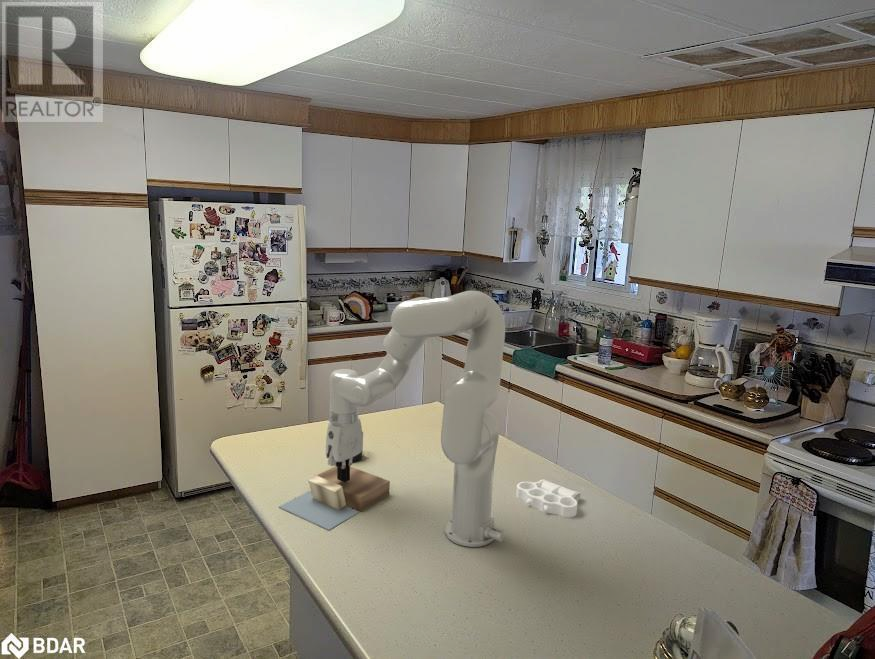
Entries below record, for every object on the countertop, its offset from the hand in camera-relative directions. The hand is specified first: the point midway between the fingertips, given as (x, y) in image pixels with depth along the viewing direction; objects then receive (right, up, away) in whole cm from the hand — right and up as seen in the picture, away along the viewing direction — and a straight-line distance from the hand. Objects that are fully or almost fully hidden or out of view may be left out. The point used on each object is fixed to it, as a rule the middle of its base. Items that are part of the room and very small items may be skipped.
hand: (343, 479), depth 161 cm
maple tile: (-4, -2, -4) cm, 6 cm away
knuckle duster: (+56, -7, +3) cm, 57 cm away
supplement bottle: (-1, 0, +25) cm, 25 cm away
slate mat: (-5, -6, -7) cm, 11 cm away
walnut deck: (+1, -4, +3) cm, 6 cm away
